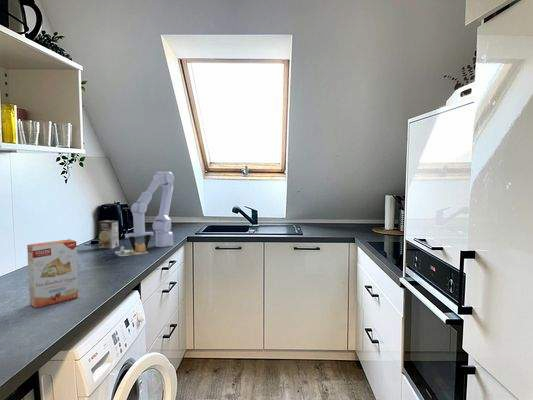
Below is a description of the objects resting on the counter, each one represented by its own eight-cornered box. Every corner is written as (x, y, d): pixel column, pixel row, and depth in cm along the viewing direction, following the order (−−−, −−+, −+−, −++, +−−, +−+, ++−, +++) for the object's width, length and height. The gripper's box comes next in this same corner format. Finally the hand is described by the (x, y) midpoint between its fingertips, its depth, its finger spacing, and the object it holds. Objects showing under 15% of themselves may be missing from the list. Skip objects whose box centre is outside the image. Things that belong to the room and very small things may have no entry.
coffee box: (98, 249, 213) (97, 221, 212) (106, 247, 219) (105, 219, 218) (112, 250, 210) (111, 222, 209) (119, 247, 217) (118, 220, 215)
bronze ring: (144, 249, 207) (143, 242, 207) (146, 251, 202) (146, 244, 202) (133, 250, 204) (133, 243, 204) (135, 252, 199) (135, 245, 199)
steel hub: (124, 252, 200) (123, 245, 200) (124, 253, 198) (124, 246, 198) (120, 253, 199) (120, 246, 199) (121, 253, 197) (120, 246, 197)
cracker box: (35, 309, 123) (31, 246, 121) (29, 304, 127) (25, 244, 125) (79, 298, 134) (76, 240, 132) (72, 294, 138) (70, 238, 136)
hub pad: (128, 251, 204) (128, 250, 204) (131, 253, 197) (131, 253, 197) (114, 252, 200) (114, 252, 200) (116, 255, 194) (116, 255, 194)
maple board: (142, 250, 210) (142, 248, 210) (148, 254, 199) (148, 252, 199) (114, 253, 203) (114, 251, 203) (119, 258, 192) (118, 256, 192)
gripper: (126, 227, 195) (127, 252, 196) (154, 224, 202) (155, 249, 204) (123, 225, 201) (124, 250, 202) (151, 223, 208) (152, 247, 210)
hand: (140, 249), depth 203 cm, fingers closed on bronze ring, 6 cm apart
